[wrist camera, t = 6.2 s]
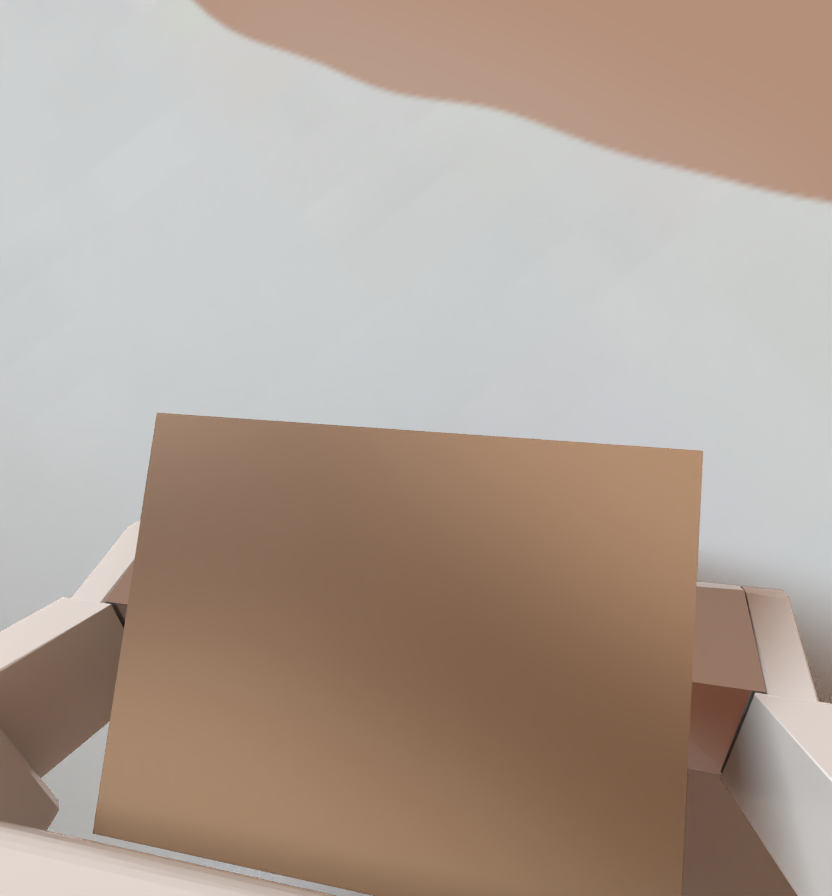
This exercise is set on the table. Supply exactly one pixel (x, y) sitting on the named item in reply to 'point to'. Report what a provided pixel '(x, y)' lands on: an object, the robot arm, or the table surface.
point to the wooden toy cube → (409, 659)
